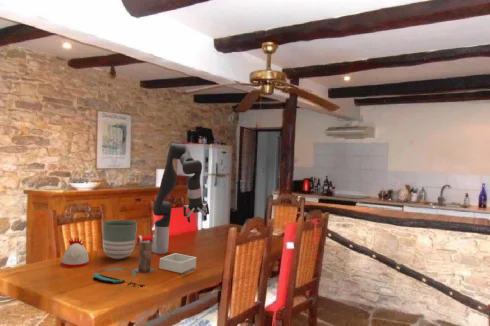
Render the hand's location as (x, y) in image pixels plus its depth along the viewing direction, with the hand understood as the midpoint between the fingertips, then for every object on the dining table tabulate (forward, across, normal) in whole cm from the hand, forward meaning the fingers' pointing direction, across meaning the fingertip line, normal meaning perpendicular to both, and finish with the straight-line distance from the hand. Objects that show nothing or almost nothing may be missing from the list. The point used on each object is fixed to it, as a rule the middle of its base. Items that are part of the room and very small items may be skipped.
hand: (197, 221), depth 228 cm
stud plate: (+20, +30, +15) cm, 39 cm away
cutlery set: (+16, +39, +27) cm, 50 cm away
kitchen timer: (+19, +69, +3) cm, 72 cm away
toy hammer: (+38, +36, -43) cm, 68 cm away
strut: (+19, +30, +14) cm, 38 cm away
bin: (+24, +13, +10) cm, 29 cm away
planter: (+26, +50, -11) cm, 57 cm away
